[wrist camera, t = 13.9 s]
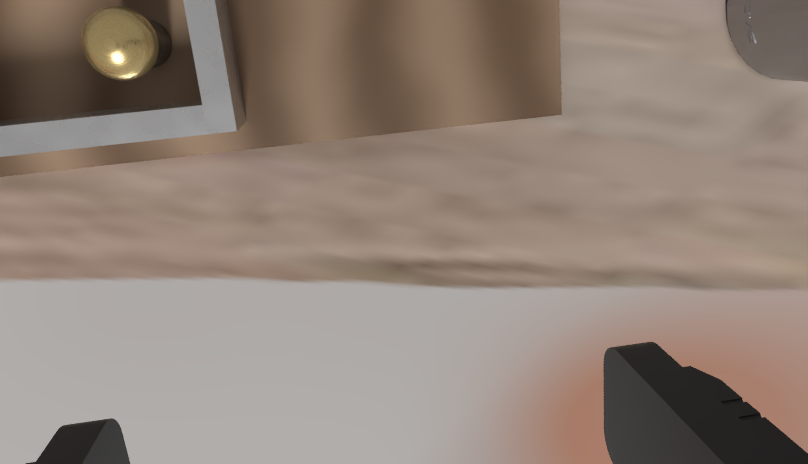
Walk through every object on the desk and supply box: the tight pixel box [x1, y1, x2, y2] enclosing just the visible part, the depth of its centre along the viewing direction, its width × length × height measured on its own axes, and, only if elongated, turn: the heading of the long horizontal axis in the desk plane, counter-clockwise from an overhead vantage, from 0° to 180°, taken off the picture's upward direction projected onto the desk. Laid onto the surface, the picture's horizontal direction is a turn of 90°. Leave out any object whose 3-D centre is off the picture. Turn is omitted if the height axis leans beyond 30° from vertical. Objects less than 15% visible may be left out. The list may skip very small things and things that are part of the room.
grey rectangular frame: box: [0, 0, 246, 157], centre depth 31 cm, size 14×9×4 cm, turn 96°
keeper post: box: [81, 6, 172, 80], centre depth 30 cm, size 3×3×6 cm
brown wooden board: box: [0, 0, 562, 177], centre depth 35 cm, size 32×12×1 cm, turn 96°
